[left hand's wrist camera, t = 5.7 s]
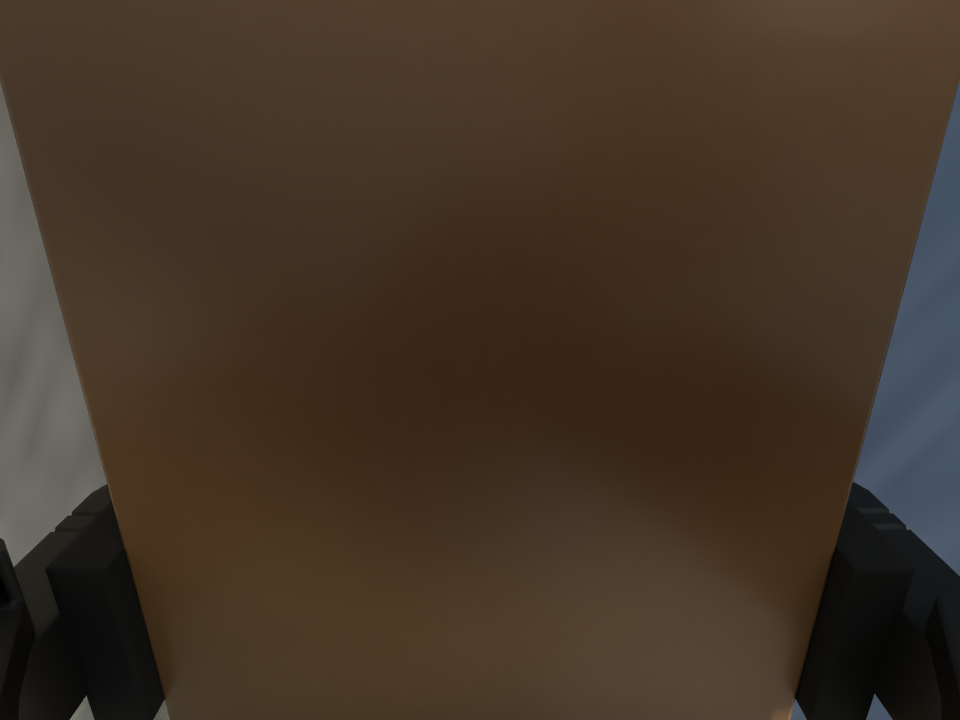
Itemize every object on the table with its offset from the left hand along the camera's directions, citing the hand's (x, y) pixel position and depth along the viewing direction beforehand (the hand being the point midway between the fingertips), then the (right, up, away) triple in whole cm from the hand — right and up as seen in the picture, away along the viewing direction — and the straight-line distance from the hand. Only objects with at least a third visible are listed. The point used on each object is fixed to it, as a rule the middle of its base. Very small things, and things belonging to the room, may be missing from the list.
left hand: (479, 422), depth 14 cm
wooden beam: (0, -26, +11) cm, 28 cm away
